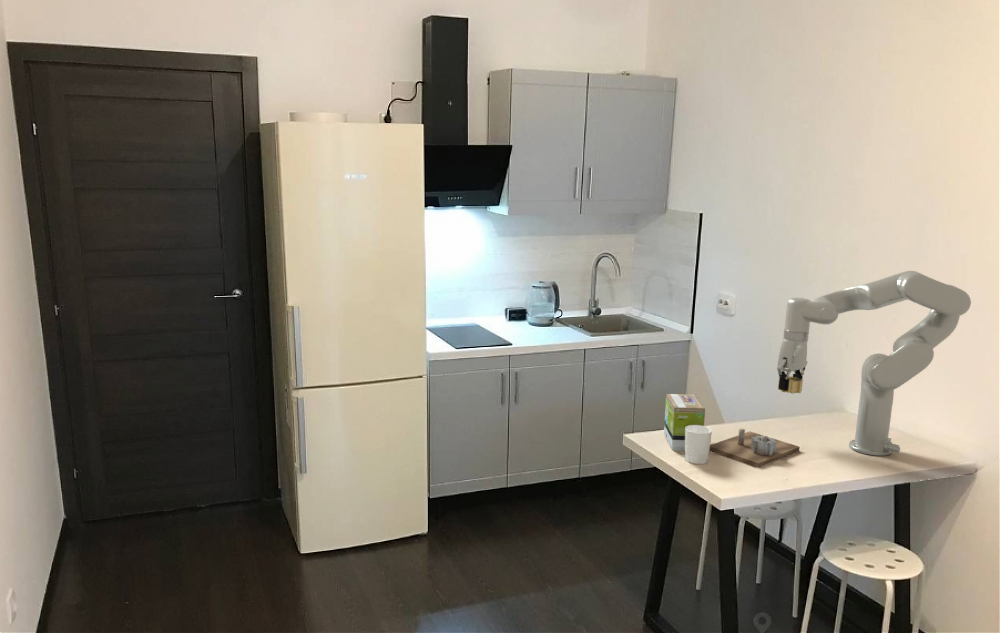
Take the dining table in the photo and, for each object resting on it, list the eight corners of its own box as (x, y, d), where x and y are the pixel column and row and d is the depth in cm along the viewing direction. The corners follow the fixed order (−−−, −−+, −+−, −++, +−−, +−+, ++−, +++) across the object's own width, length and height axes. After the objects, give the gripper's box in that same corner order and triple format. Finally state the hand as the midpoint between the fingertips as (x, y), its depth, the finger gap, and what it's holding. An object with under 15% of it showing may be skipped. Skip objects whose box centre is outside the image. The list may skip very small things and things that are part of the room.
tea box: (662, 434, 254) (665, 392, 251) (692, 435, 254) (695, 393, 251) (671, 450, 239) (674, 406, 236) (703, 452, 239) (706, 407, 236)
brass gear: (805, 391, 249) (807, 379, 248) (793, 394, 244) (795, 382, 243) (785, 386, 254) (786, 374, 253) (773, 389, 250) (774, 377, 249)
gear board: (799, 451, 242) (801, 431, 241) (757, 467, 227) (759, 447, 226) (749, 435, 255) (751, 417, 254) (707, 450, 240) (708, 430, 239)
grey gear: (777, 450, 238) (778, 438, 237) (773, 457, 231) (774, 445, 230) (752, 445, 241) (754, 433, 240) (748, 452, 235) (749, 440, 234)
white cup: (695, 466, 227) (697, 434, 225) (677, 457, 233) (679, 426, 232) (714, 462, 230) (717, 431, 228) (697, 454, 237) (699, 423, 235)
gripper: (799, 331, 254) (793, 381, 257) (770, 336, 243) (764, 389, 246) (820, 335, 248) (814, 387, 251) (792, 341, 237) (785, 395, 241)
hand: (789, 387), depth 249 cm, fingers closed on brass gear, 7 cm apart
